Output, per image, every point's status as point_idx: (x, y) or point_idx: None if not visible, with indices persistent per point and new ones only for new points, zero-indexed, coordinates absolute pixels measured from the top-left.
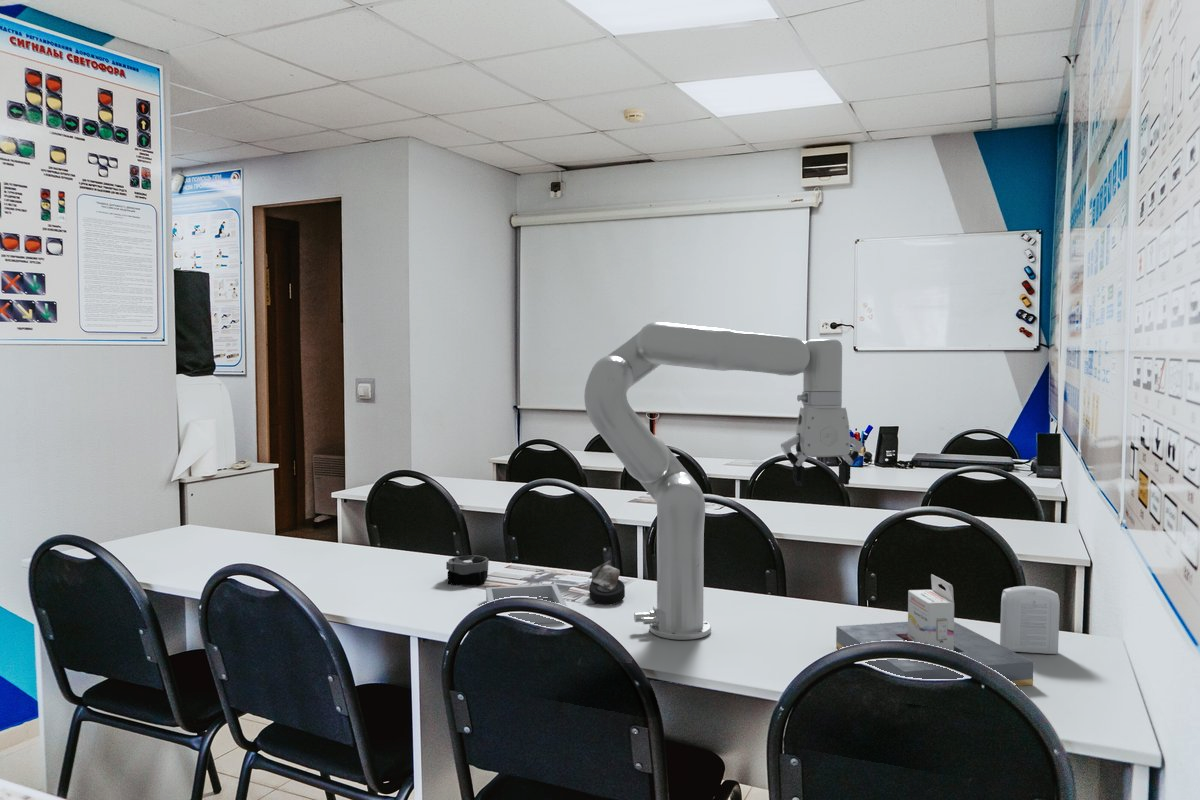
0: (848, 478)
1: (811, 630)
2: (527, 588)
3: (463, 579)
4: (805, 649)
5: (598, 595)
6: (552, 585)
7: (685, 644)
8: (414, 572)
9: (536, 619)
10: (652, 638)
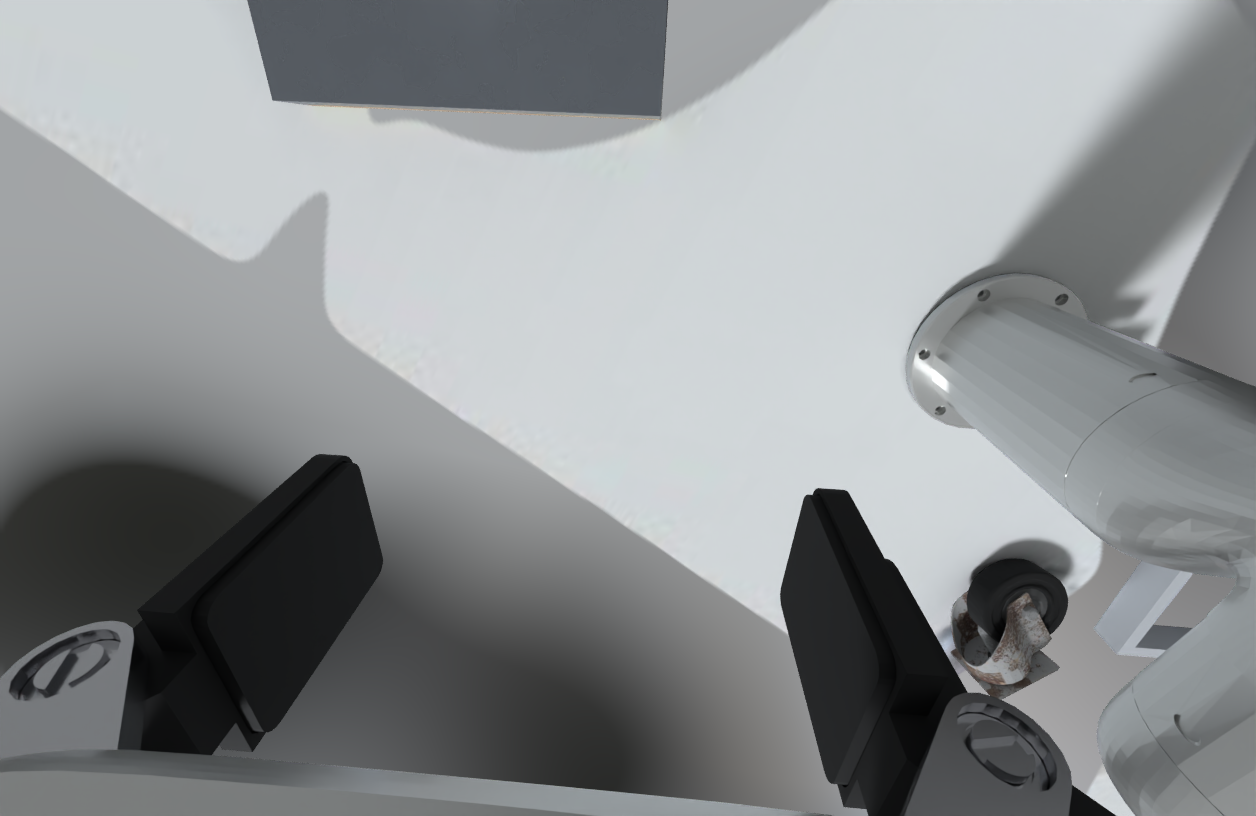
0: (286, 485)
1: (657, 272)
2: None
3: None
4: (758, 120)
5: (1058, 580)
6: (1132, 647)
7: (1048, 247)
8: None
9: None
10: (1096, 315)
